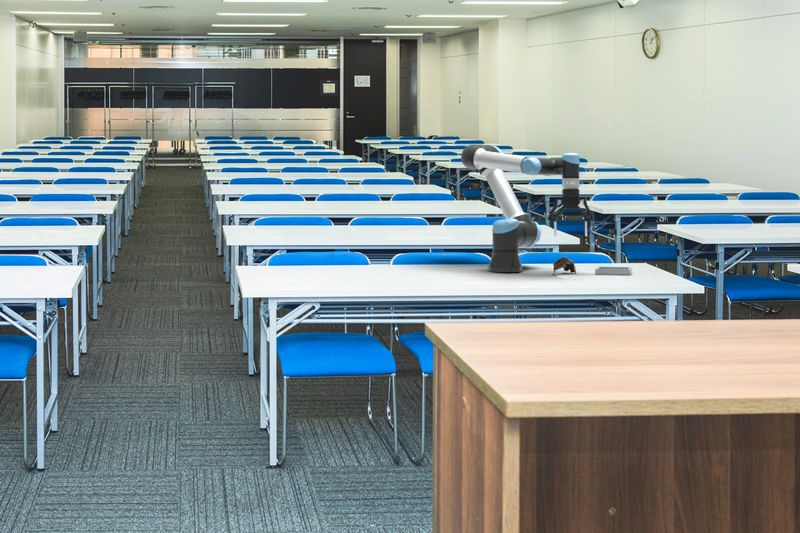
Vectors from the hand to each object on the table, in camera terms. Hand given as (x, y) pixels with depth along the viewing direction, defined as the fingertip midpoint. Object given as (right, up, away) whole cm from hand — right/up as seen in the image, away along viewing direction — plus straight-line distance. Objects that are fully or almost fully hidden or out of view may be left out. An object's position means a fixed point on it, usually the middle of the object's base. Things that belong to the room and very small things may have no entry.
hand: (570, 236), depth 477 cm
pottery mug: (-1, -18, +2) cm, 18 cm away
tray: (+19, -17, 0) cm, 25 cm away
